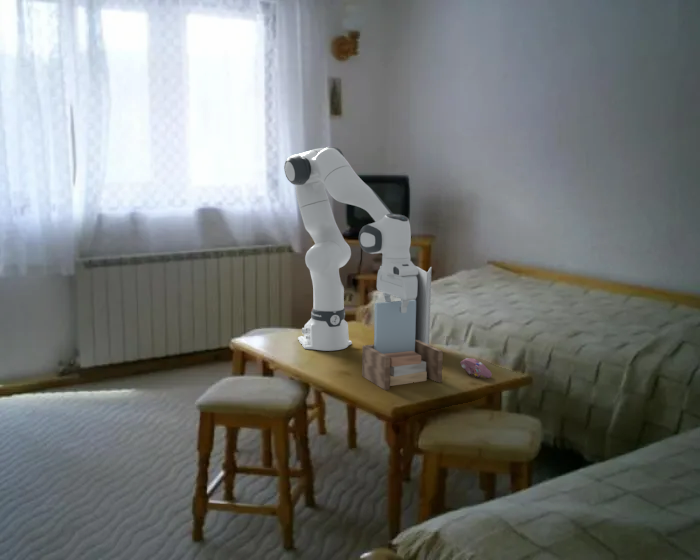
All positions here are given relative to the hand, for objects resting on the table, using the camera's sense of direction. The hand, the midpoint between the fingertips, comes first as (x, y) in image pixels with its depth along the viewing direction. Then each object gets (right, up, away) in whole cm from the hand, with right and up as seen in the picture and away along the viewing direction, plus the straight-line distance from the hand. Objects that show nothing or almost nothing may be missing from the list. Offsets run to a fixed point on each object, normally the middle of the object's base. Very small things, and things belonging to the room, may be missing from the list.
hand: (395, 309), depth 230 cm
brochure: (+11, -17, +32) cm, 37 cm away
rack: (+1, -22, 0) cm, 22 cm away
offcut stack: (+2, -22, -2) cm, 22 cm away
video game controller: (+26, -22, +4) cm, 34 cm away
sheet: (0, -21, +4) cm, 21 cm away
